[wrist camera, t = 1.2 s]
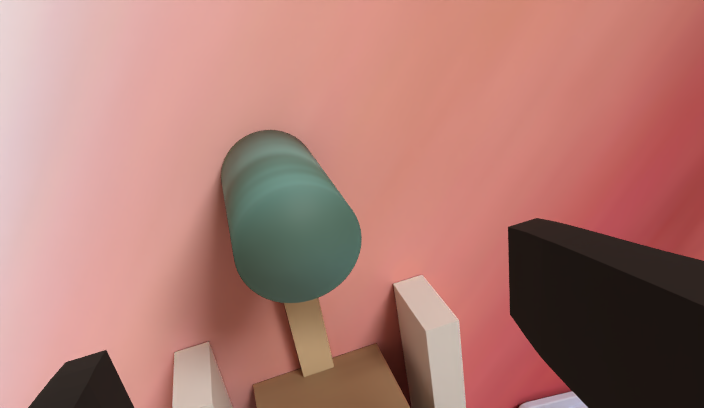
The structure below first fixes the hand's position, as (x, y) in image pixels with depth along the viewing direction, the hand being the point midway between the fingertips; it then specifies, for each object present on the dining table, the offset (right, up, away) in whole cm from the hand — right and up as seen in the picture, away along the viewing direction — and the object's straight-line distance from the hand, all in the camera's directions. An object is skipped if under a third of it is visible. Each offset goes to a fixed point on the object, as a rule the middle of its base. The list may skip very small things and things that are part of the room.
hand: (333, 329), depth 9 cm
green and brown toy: (-1, -2, +10) cm, 10 cm away
